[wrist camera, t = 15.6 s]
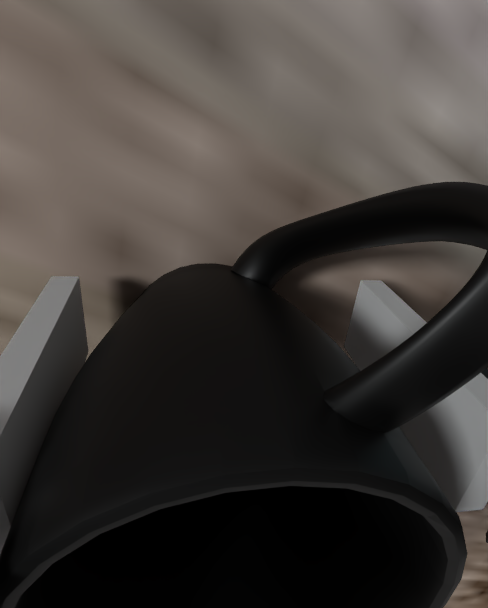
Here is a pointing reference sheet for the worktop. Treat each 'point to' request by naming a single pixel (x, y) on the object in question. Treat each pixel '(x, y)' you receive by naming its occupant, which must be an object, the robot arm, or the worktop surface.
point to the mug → (255, 439)
